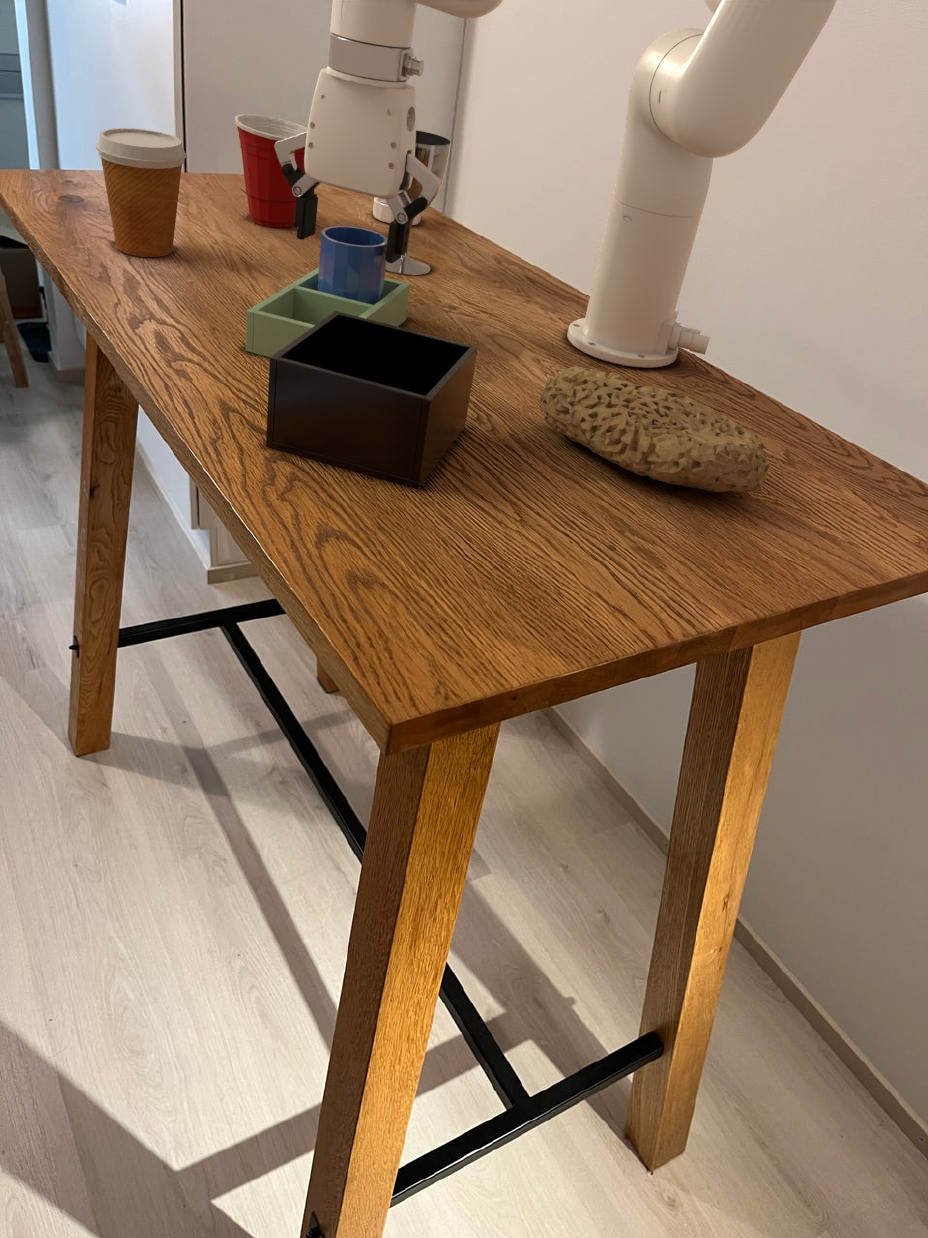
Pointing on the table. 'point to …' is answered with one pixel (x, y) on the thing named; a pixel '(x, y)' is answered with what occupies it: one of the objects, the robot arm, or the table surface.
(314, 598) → the table surface
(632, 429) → the sponge
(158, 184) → the disposable coffee cup
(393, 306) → the green divided tray
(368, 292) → the blue cup
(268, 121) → the plastic cup
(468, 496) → the table surface
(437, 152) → the wine glass
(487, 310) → the table surface
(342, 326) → the open box
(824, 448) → the table surface
